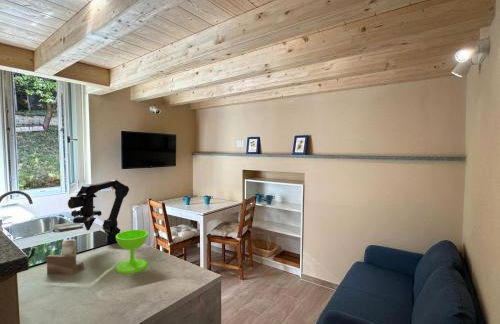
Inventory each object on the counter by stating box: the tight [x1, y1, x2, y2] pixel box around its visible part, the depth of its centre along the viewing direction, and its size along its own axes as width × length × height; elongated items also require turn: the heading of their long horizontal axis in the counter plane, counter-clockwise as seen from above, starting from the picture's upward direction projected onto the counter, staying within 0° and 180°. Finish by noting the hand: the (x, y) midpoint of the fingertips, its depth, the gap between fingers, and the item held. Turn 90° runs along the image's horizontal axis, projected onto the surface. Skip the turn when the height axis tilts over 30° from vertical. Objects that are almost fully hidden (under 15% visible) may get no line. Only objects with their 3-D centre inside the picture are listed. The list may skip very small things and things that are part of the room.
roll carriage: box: [61, 238, 81, 266], centre depth 135 cm, size 9×9×14 cm
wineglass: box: [115, 229, 149, 275], centre depth 141 cm, size 16×16×18 cm
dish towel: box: [51, 221, 84, 233], centre depth 202 cm, size 19×18×3 cm
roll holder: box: [46, 254, 85, 276], centre depth 137 cm, size 19×14×10 cm
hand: (88, 230), depth 159 cm, fingers closed
